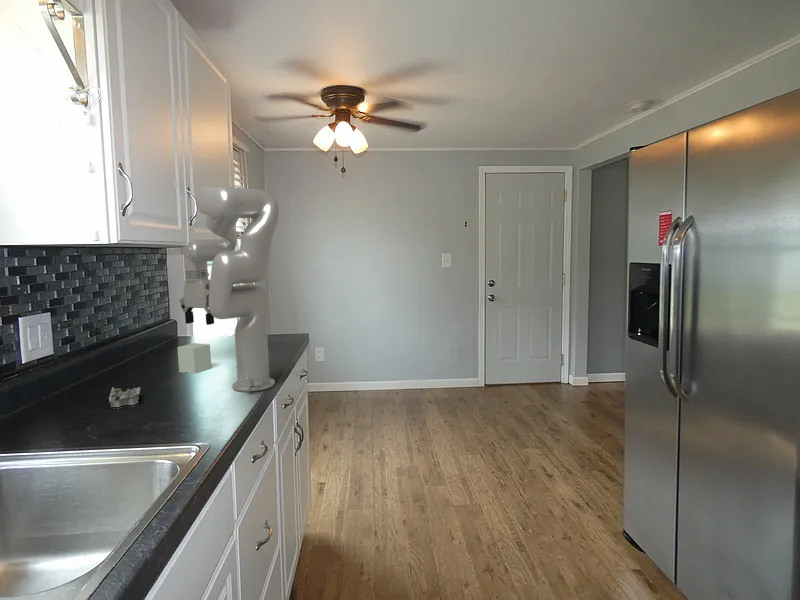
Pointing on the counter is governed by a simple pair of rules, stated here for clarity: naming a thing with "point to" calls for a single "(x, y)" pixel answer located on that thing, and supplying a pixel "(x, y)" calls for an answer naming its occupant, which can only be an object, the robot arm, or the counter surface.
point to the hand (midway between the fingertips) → (199, 323)
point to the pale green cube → (194, 358)
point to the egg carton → (124, 397)
